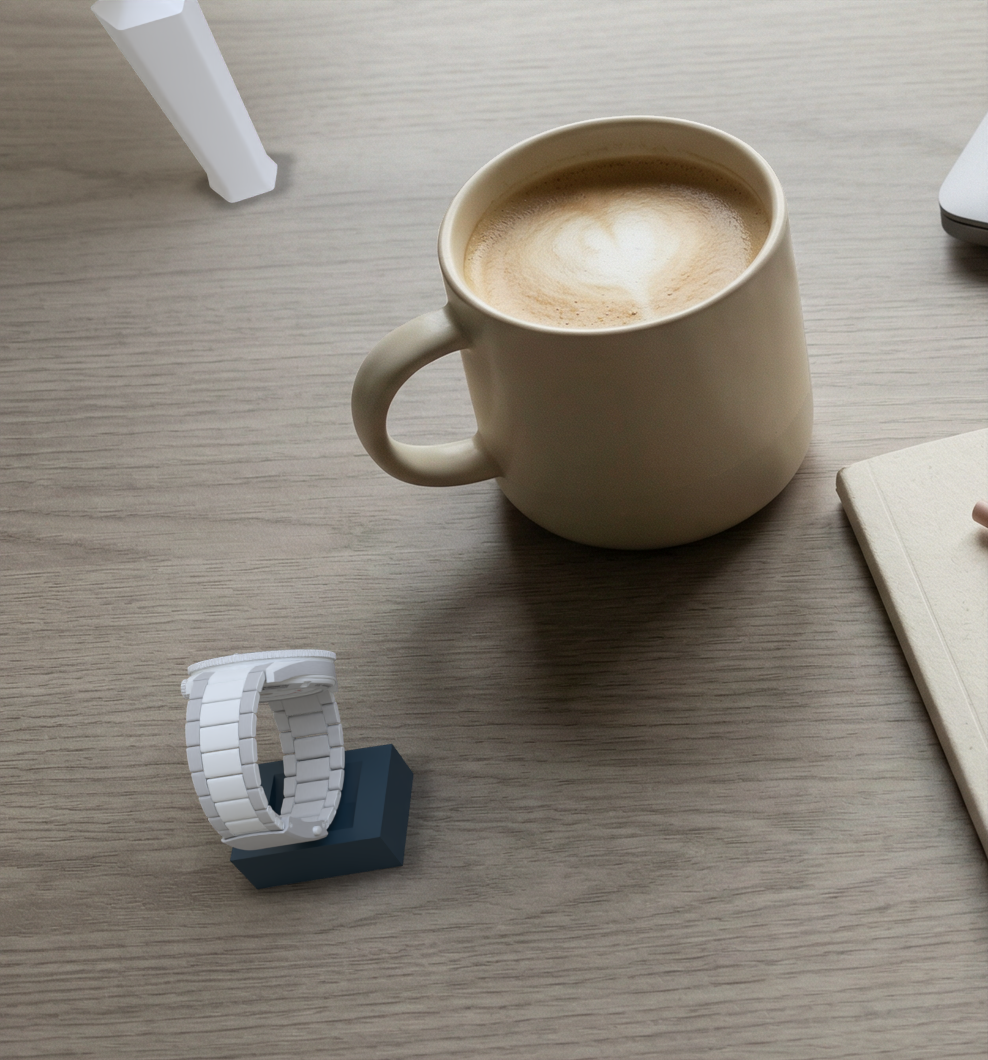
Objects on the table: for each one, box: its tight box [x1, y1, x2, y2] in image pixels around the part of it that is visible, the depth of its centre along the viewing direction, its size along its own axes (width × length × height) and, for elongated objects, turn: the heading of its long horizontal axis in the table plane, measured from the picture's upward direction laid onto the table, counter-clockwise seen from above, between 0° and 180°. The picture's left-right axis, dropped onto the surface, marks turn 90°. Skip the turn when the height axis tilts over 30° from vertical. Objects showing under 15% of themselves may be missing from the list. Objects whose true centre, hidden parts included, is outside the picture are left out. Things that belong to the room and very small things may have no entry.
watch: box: [180, 648, 415, 890], centre depth 65 cm, size 6×8×11 cm
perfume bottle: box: [90, 0, 279, 204], centre depth 88 cm, size 5×4×15 cm
